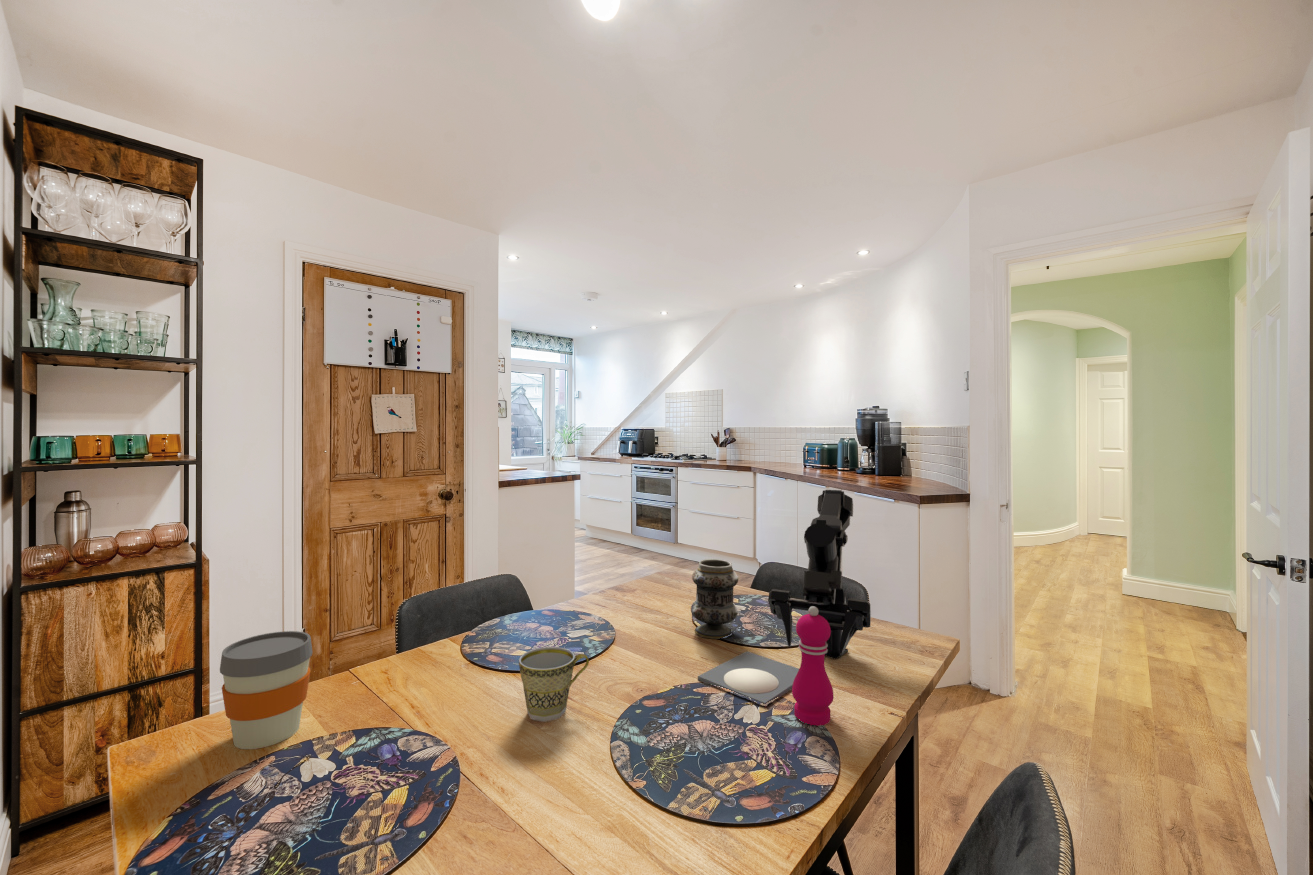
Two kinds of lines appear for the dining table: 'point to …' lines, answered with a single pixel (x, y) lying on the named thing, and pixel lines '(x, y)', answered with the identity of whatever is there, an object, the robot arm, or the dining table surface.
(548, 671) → the ceramic cup
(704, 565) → the apothecary jar
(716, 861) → the dining table surface
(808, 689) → the pepper mill
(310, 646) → the reusable coffee cup
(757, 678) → the mat
